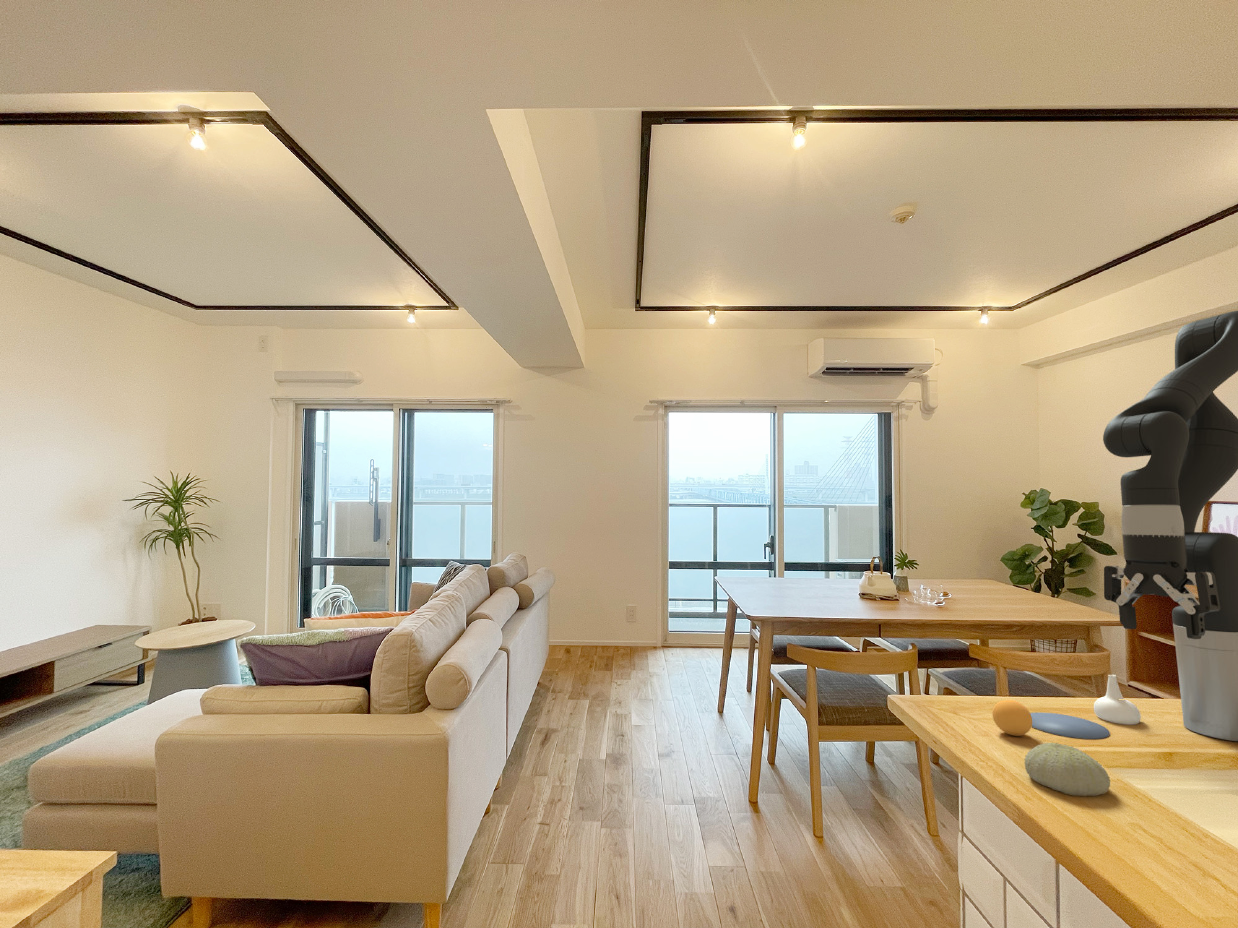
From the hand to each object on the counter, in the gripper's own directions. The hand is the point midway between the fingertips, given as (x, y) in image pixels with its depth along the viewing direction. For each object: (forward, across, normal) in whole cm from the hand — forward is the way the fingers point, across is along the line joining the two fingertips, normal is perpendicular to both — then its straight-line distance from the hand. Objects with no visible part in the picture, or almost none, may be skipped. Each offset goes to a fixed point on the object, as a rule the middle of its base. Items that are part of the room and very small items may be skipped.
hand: (1160, 633), depth 91 cm
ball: (+15, +11, +19) cm, 27 cm away
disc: (+17, +11, +7) cm, 22 cm away
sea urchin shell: (+19, -4, +29) cm, 35 cm away
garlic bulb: (+17, +10, -5) cm, 21 cm away
